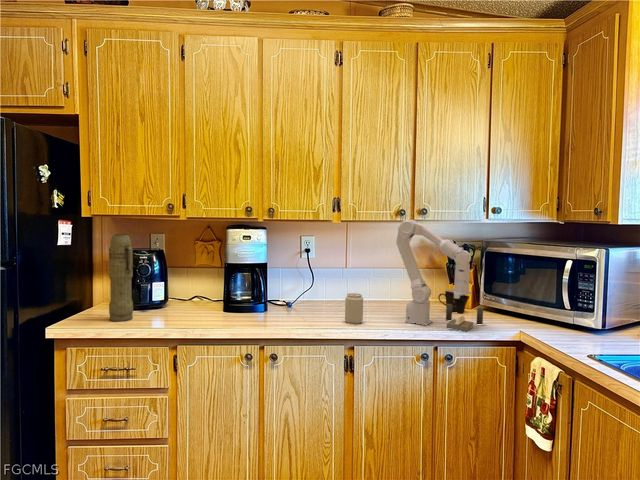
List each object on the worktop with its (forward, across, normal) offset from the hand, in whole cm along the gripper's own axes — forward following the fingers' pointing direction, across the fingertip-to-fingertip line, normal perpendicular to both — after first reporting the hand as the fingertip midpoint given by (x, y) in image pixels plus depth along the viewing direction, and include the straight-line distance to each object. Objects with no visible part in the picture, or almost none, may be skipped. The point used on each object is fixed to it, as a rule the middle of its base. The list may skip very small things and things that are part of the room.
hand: (460, 313), depth 179 cm
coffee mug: (+6, +28, +12) cm, 31 cm away
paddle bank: (+4, 0, 0) cm, 4 cm away
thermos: (+6, -74, +118) cm, 139 cm away
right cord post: (+6, +10, -6) cm, 13 cm away
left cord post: (+6, +10, +8) cm, 14 cm away
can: (+6, -19, +39) cm, 44 cm away
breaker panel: (+6, 0, 0) cm, 6 cm away
